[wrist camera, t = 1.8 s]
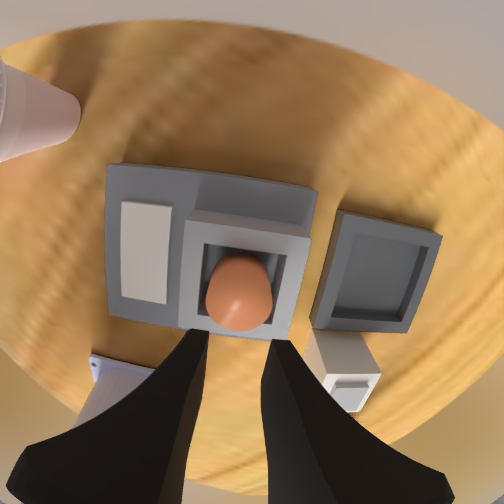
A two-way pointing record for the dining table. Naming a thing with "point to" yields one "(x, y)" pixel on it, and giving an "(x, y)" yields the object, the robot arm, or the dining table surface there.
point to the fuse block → (342, 366)
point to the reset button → (239, 292)
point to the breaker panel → (200, 242)
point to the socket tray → (373, 274)
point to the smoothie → (33, 113)
